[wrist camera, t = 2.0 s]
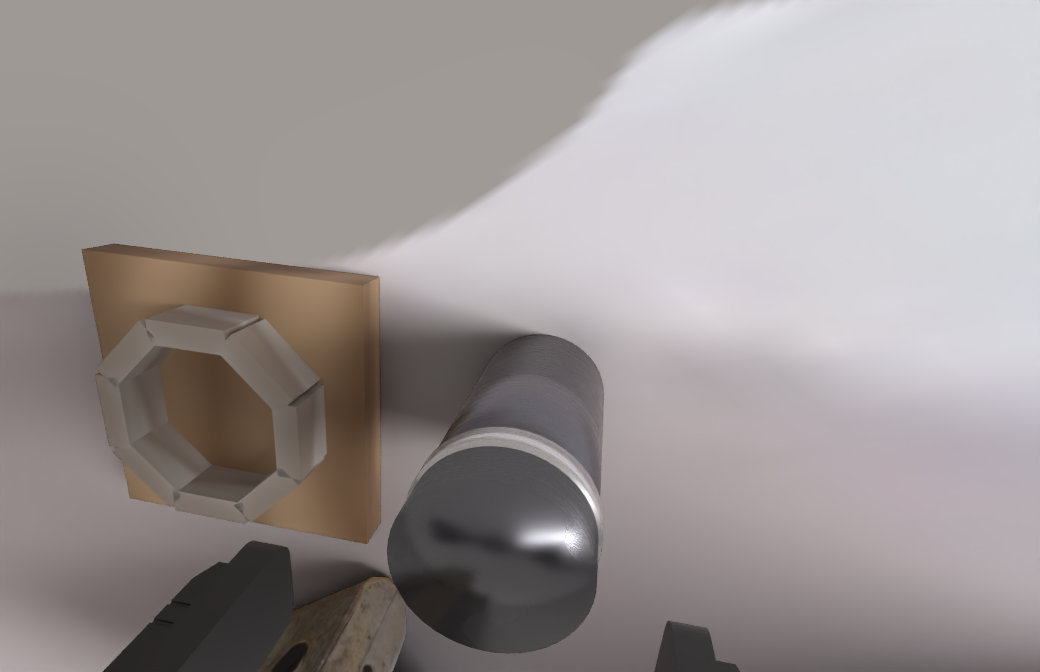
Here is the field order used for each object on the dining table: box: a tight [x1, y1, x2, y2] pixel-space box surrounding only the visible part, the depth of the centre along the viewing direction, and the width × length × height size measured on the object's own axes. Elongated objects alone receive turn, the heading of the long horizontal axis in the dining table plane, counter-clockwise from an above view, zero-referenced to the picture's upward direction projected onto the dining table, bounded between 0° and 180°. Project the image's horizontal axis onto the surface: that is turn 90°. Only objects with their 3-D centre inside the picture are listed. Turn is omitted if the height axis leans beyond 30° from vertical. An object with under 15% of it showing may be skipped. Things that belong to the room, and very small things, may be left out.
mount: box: [82, 244, 381, 544], centre depth 22 cm, size 12×12×4 cm
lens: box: [387, 335, 604, 653], centre depth 17 cm, size 5×5×10 cm
